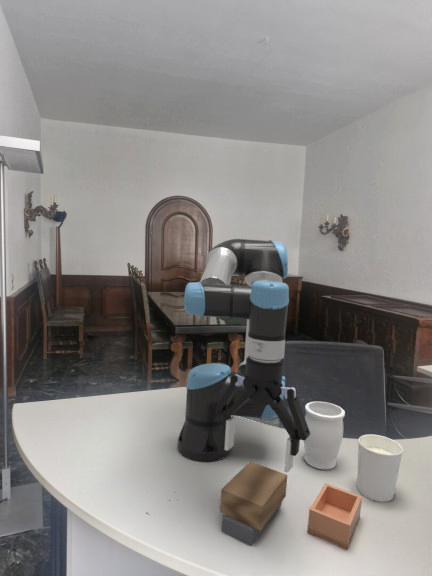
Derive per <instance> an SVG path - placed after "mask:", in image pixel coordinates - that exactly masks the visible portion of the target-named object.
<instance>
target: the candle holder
mask: <svg viewBox="0 0 432 576" xmlns="http://www.w3.org/2000/svg"><path fill="white" fill-rule="evenodd" d="M357 441H358V445H357V447H358V448H357V450H358V451H357V474H356V487H357V490H358V492H359V493H360V494H362V496H364V497H366V498H367V499H369V500H371V501H374V502H375V501H376V502H380V503H381V502H382V503H385V502H387V503H388V502H389V501H392V500H393V499H394V497H395V492H396V487H397V482H398V477H399V471H400V467H401V466H400V465H401V461H402V454H403V452H404V449H403V446H402V445H401V444H400V443H398V442H397V441H396V440H394V439H391V438H389V437H387V436H383V435H379V434H369V433H368V434H363V435H361V436H359V437H358V440H357Z"/></svg>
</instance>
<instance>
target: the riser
mask: <svg viewBox="0 0 432 576" xmlns="http://www.w3.org/2000/svg"><path fill="white" fill-rule="evenodd" d="M281 505H282V502H281V503H280V505H279V506H278V507H277V509H276V510H275V511H274V513H273V514H272V516H271V517H270V518H269V520H268V521H267V522H266V524H265V525H264V526H263V528H262V529H261V531H259V530H257V529H255V528H253V527H251V526H249V525H247V524H244V523H242V522H240V521H238V520H236V519H234V518H231V517H229V516H227V515H225V514H223V516H222V519H221V532H222V533H224V534H227V536H230V537H232V538H235V539H237V540H238V541H241V542H243V543H244V544H246V545H249V546H253V544H254V543H255V541H256V540H257V539H258V537H259V535H261V533H262V532H263V530H264V529H265V528H266V526H267V525H268V524H269V522H270V521H271V519H273V517H274V515H276V513H277V511H278V510H279V508H280V507H281Z"/></svg>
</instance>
